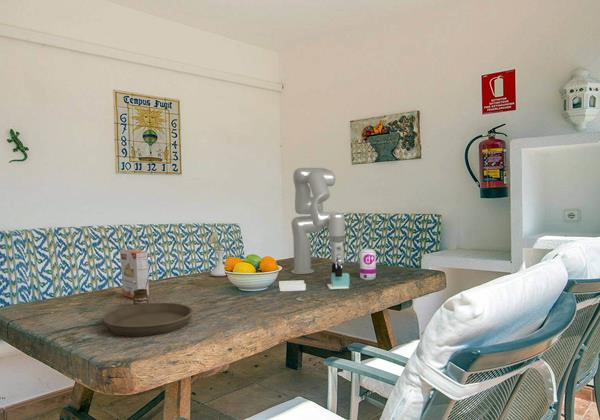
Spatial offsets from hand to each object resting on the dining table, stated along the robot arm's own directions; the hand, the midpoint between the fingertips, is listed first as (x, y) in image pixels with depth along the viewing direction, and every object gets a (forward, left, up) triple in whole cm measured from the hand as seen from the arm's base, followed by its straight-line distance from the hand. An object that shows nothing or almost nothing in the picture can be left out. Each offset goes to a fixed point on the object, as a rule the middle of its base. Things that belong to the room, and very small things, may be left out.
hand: (336, 274), depth 232 cm
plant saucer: (+54, -77, -6) cm, 94 cm away
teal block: (+1, +1, -5) cm, 5 cm away
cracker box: (+8, -93, -6) cm, 93 cm away
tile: (+1, 0, -6) cm, 6 cm away
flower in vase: (-38, -59, -6) cm, 70 cm away
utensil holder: (+27, -86, -6) cm, 90 cm away
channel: (+2, -22, -6) cm, 23 cm away
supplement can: (-17, +19, -6) cm, 27 cm away
